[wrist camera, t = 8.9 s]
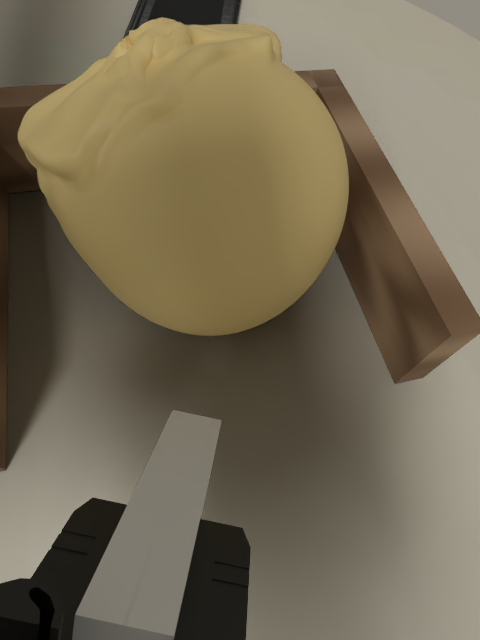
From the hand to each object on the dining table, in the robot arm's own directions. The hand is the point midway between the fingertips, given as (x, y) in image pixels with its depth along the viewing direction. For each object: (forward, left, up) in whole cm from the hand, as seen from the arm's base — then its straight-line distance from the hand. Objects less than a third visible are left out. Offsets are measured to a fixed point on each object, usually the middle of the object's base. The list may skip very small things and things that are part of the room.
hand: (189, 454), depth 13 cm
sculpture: (-11, +3, -5) cm, 12 cm away
